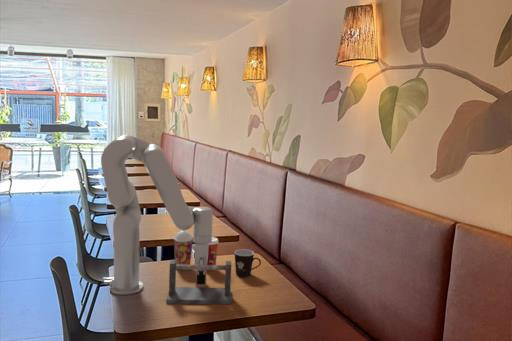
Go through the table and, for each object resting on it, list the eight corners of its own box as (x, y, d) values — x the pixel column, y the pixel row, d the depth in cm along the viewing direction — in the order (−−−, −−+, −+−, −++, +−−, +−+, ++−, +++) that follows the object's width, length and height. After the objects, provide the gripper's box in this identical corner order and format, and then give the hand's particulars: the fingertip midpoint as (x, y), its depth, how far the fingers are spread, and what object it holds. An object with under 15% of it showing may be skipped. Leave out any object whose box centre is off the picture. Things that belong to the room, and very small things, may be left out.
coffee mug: (229, 273, 190) (230, 251, 189) (244, 269, 196) (245, 248, 194) (246, 282, 182) (247, 259, 180) (261, 277, 187) (262, 255, 186)
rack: (166, 303, 159) (167, 267, 157) (169, 290, 170) (170, 256, 167) (231, 303, 161) (233, 268, 159) (230, 291, 172) (232, 257, 170)
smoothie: (173, 264, 197) (174, 221, 194) (191, 263, 199) (192, 222, 196) (173, 271, 189) (174, 227, 186) (192, 270, 191) (193, 227, 188)
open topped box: (195, 289, 172) (196, 271, 171) (196, 283, 178) (196, 266, 176) (205, 289, 173) (206, 271, 172) (206, 283, 178) (206, 266, 177)
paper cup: (214, 273, 190) (215, 242, 187) (198, 270, 191) (199, 240, 189) (219, 266, 197) (221, 237, 195) (203, 264, 199) (204, 235, 197)
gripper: (194, 231, 180) (193, 272, 183) (191, 244, 163) (190, 289, 166) (212, 231, 181) (210, 272, 184) (211, 245, 164) (209, 289, 167)
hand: (201, 280), depth 175 cm, fingers closed on open topped box, 5 cm apart
